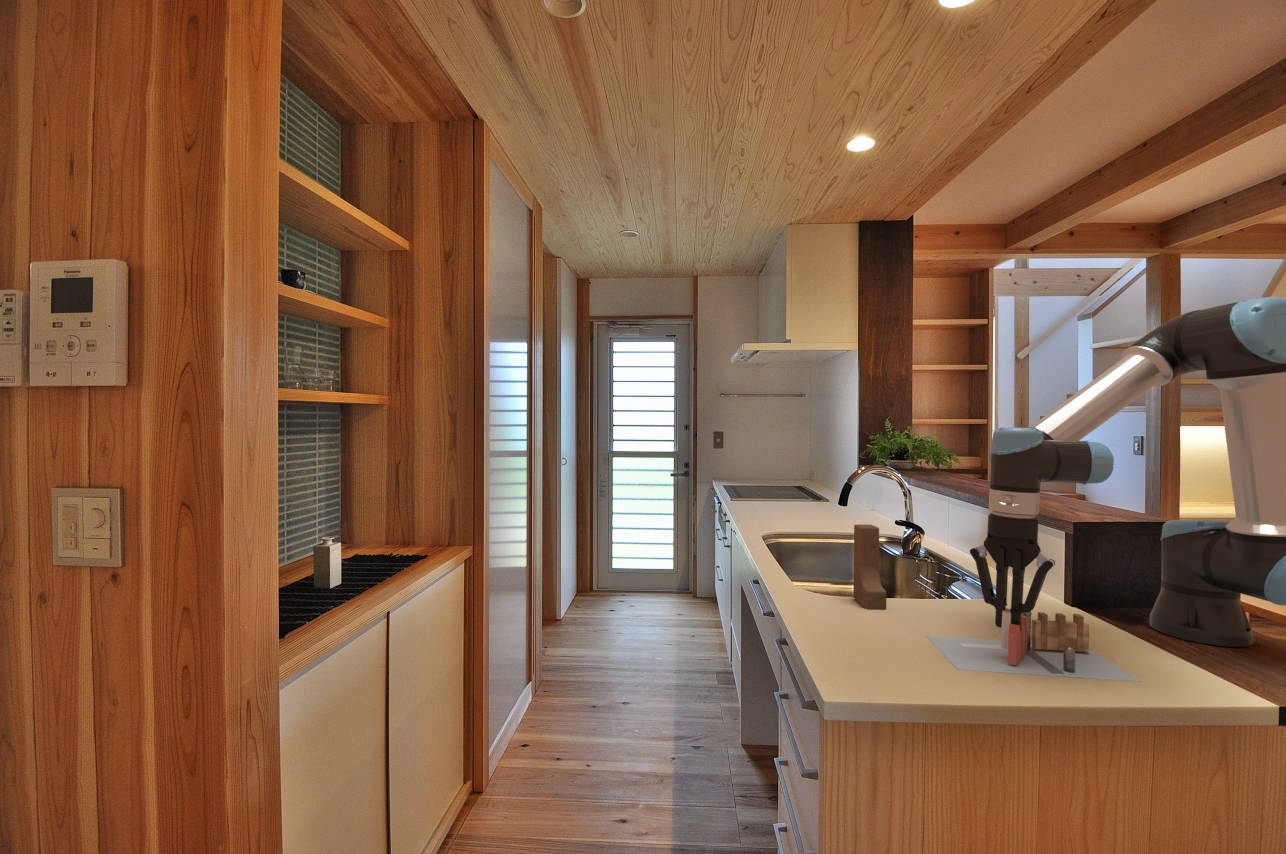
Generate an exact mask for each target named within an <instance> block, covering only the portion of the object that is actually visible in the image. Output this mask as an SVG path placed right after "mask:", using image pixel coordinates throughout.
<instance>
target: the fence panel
mask: <svg viewBox="0 0 1286 854" xmlns="http://www.w3.org/2000/svg"><path fill="white" fill-rule="evenodd" d="M1026 652H1027V617H1026V616H1021V627H1020V625H1015V624H1009V634H1008V664H1012V665H1017V664H1019V661H1020V660H1021V659H1022V658H1023V655H1024V654H1025V653H1026Z"/></svg>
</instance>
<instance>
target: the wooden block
mask: <svg viewBox="0 0 1286 854" xmlns="http://www.w3.org/2000/svg"><path fill="white" fill-rule="evenodd" d="M852 598H853V601H855V602H856V603H858V605H860V606H861V607H862V608H864V610H865V609H866V610H867V611H868V610H869V611H870V610H871V611H873V610H875V611H880V610H881V611H882V610H883V611H885V610H887V591H886V589H885V588H884V587H883V585H882V583H881V579H880V527H878V526H876V525H873V524H857V523H856V524H854V525H853V597H852ZM854 598H855V599H854Z"/></svg>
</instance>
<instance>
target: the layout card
mask: <svg viewBox="0 0 1286 854" xmlns="http://www.w3.org/2000/svg"><path fill="white" fill-rule="evenodd" d="M925 637H926V638H927V639H928V641H930V642H931V643H932V644H933V645H934V646H935V647H936V648H937V650H939V652H940V653H941V654H942V655H943V656H944V657H945V658H946V659H947V660H948V661H949V662H950V663H951V664H952V666H954V667H955V669H956V670H958V671H959V670H960V671H972V672H973V671H974V672H987V673H988V672H989V673H1004V674H1019V675H1032V676H1033V675H1035V676H1049V677H1061V678H1062V677H1064V678H1079V679H1093V680H1111V681H1126V682H1136V683H1137V682H1138V683H1139V682H1140V683H1141V682H1142V683H1143V681H1142V680H1141V679H1139V678H1137V677H1136V676H1134V675H1133V674H1131V673H1129V672H1128V671H1126V670H1124V669H1123V668H1121V667H1120V666H1118V665H1116V664H1115V663H1113V662H1112V661H1111V660H1108V659H1107V658H1106V657H1103V656H1102V655H1100V654H1099V653H1097V652H1095V651H1093V650H1092V649H1090V648H1089V652H1077V651H1075V673H1069V672H1066V671H1064V670H1063V654H1064V651H1059V650H1043V649H1035V648H1033V647H1032V641H1031V648H1030V650H1029V651H1027V652H1026V653H1025V654H1024V655H1023V658H1022V659H1021V660H1020V661H1019V664H1017V665H1012V664H1008V650H1007V649H1003V648H1001V639H990V638H989V639H987V638H973V637H972V638H969V637H954V636H953V637H951V636H938V635H926V636H925Z"/></svg>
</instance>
